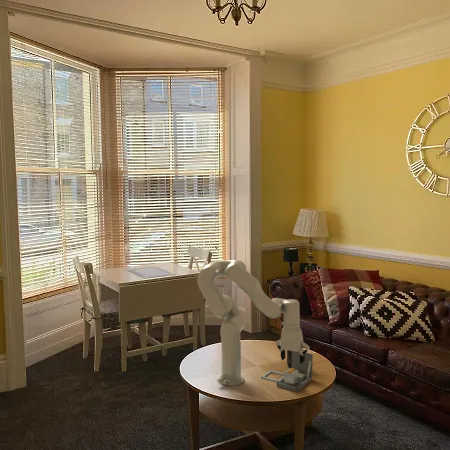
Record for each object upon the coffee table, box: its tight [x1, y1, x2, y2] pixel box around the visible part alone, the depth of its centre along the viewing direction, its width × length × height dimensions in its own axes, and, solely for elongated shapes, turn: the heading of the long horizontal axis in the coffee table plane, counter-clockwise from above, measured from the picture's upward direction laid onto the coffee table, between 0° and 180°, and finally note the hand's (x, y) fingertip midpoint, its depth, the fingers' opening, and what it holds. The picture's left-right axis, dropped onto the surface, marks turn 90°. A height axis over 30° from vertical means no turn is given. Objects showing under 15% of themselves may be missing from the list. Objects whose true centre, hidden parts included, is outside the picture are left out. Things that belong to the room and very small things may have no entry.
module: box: [283, 367, 298, 387], centre depth 232 cm, size 5×5×8 cm
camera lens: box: [286, 350, 292, 369], centre depth 256 cm, size 8×8×15 cm
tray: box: [260, 370, 284, 383], centre depth 243 cm, size 10×10×1 cm
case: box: [276, 351, 314, 393], centre depth 235 cm, size 17×11×14 cm, turn 147°
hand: (292, 360), depth 231 cm, fingers open, 9 cm apart
